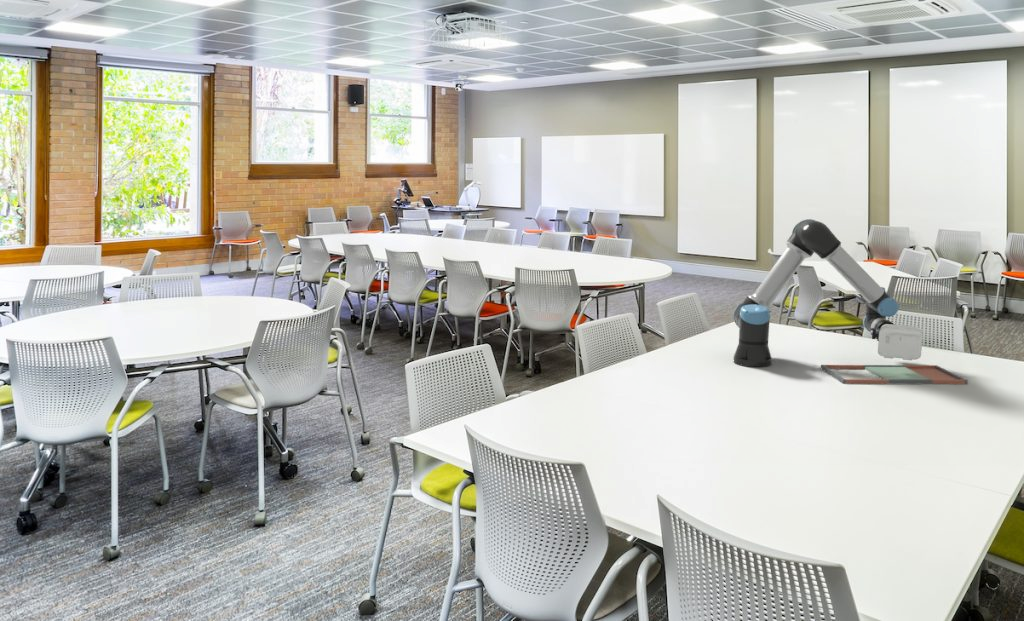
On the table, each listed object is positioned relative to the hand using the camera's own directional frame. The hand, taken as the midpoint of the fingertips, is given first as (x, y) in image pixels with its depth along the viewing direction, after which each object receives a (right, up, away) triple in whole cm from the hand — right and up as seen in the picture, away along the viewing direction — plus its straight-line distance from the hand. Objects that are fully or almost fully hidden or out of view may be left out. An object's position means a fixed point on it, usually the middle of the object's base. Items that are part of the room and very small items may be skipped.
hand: (904, 340), depth 300 cm
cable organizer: (+1, -7, +5) cm, 9 cm away
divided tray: (-2, -14, +7) cm, 16 cm away
